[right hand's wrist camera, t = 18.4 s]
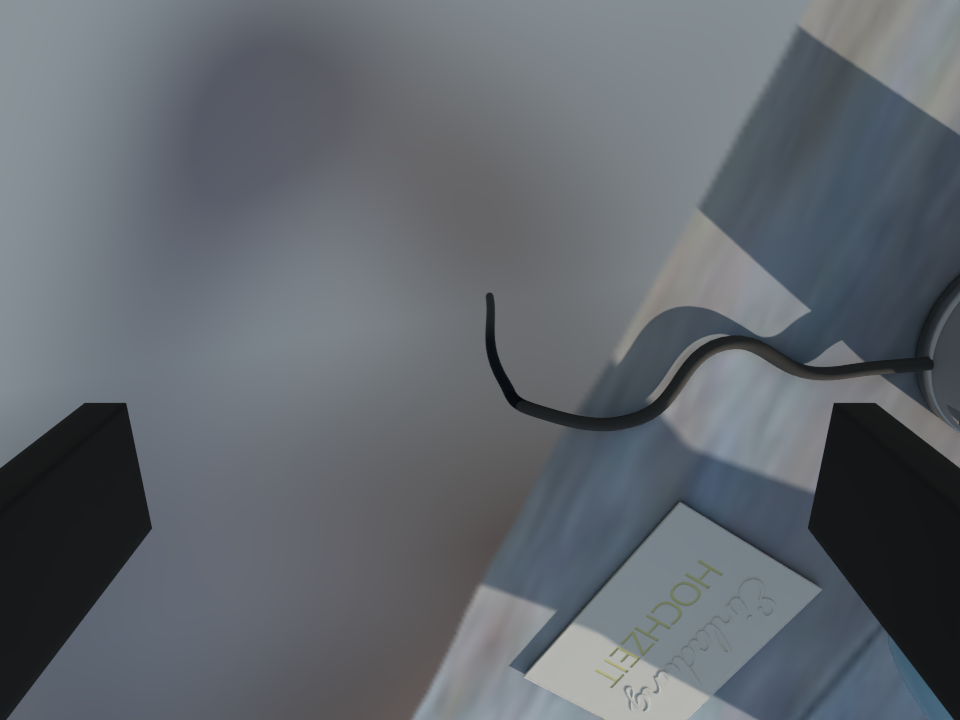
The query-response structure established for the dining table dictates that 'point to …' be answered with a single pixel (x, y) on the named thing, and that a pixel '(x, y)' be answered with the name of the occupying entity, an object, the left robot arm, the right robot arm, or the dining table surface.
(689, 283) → the dining table surface
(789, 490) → the dining table surface
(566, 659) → the invitation card
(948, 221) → the dining table surface
